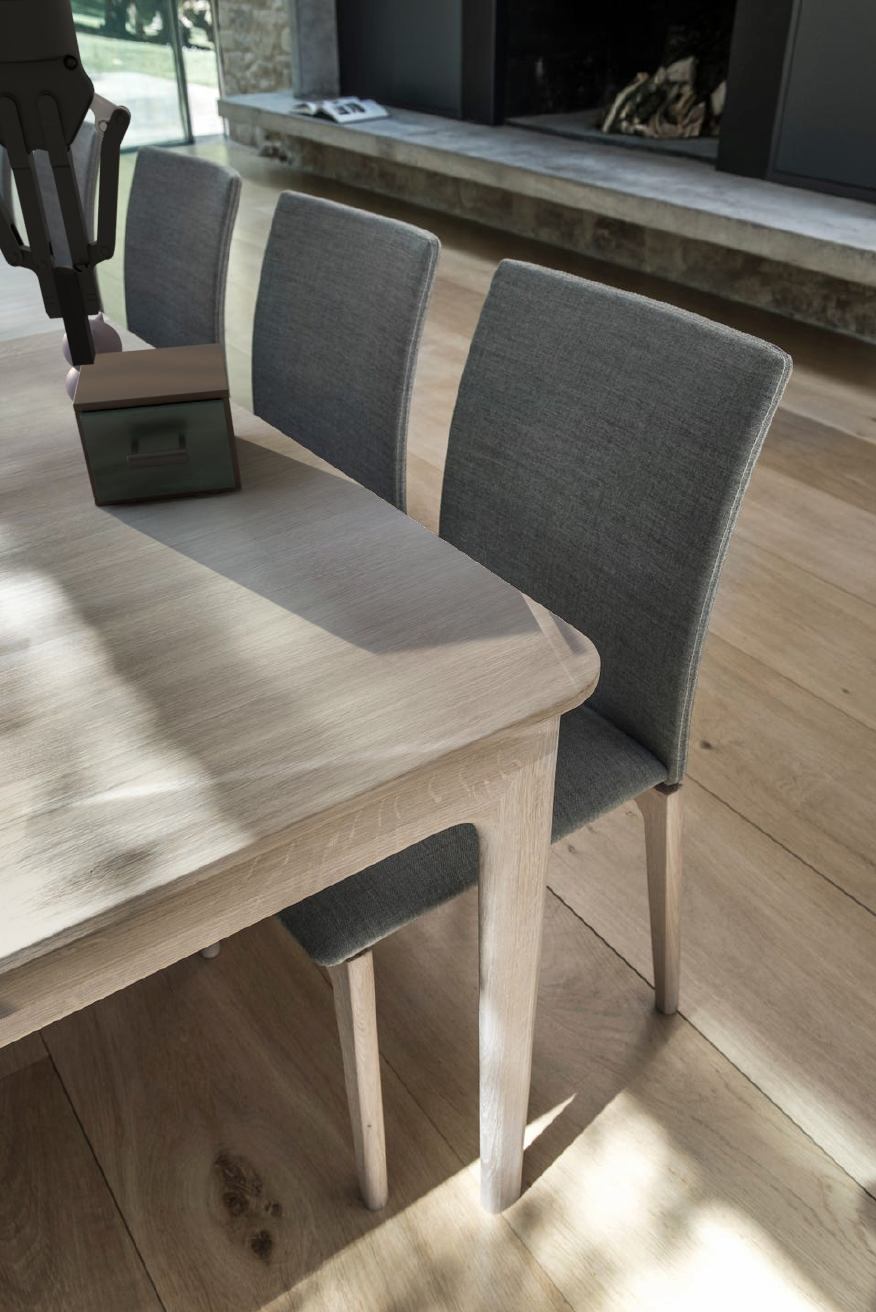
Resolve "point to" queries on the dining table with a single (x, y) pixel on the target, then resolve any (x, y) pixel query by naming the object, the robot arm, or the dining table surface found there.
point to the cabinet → (154, 391)
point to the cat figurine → (103, 343)
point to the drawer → (159, 449)
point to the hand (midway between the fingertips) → (84, 359)
